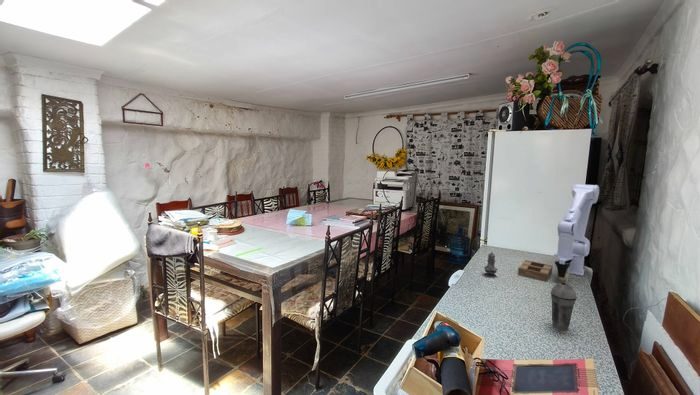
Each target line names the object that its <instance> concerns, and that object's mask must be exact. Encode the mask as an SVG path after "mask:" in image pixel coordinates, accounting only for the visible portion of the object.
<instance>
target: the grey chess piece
mask: <svg viewBox="0 0 700 395" xmlns="http://www.w3.org/2000/svg"><path fill="white" fill-rule="evenodd" d="M495 257H496V254H494V253H493V251H491V252H490V253H488V257H487V260H486V261H487V265H486V266H484V267H483V269H484V272H485V273H484V276H485V277H488V278H497V275H496V273H497V272H498V268H497V267H496V266H495V262H496V260H495V259H496V258H495Z"/></svg>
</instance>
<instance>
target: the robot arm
mask: <svg viewBox="0 0 700 395" xmlns="http://www.w3.org/2000/svg"><path fill="white" fill-rule="evenodd" d="M571 195H572V197H573V200H572V203H571V207H569V208H568V209H567V210H566V212H565V213H564V216H563V218H562V220H561V221H559V222H558V225H557V236H558V242H557V252H556V253H554V254H553V257H556V258H557V259H558V260H559V261H557V260H555V262H554V264H555V266H556V269H557V273H558V276H559V277H562V278H564V277H565V274H566V271H567V269H568V267H569V269H568V271H570V275H577V276H582V277H583V276H584V273H585V269H584V265H585V264H584V262H585V257H587V256H588V255H589V254H590V249H591V242H590V240H589V239H588V238H587V237H585V235H586V231H587V226H588V222H589V217H590V212H591V208H592V206H593V204H597V202H598V199H599V196H600V186H599V185H598V184H582V183H581V184H579V183H574V184H573V185H572V187H571ZM565 262H566V263H568V264H566V263H565Z"/></svg>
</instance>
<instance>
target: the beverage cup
mask: <svg viewBox="0 0 700 395" xmlns="http://www.w3.org/2000/svg"><path fill="white" fill-rule="evenodd" d="M570 275H571V273H570V271H568V275H567V279H566V281H565V282H559V283H555V284H554V285H552V288H551V291H550V298H551V324H552V327H553V328H554V329H556V330H560V331H562V332H563V331H564V332H565V331H568V330H569V326H570V323H571V319H572V314H573V310H574V307H575V306H574V305H575V303H576V301H577V292H576V290H575V288H574V287H573V286H572V285H570V284H569V283H568V282H569V280H570Z"/></svg>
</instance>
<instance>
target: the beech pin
mask: <svg viewBox="0 0 700 395" xmlns="http://www.w3.org/2000/svg"><path fill="white" fill-rule="evenodd" d="M565 263H566V262H565ZM566 264H568V263H566ZM568 269H569V267H568ZM568 269H567V271H566V274H565V277H564V278H562V277H559V276H558V272H557V275H556V280H557V281H561V282H566V279H567V275H568Z"/></svg>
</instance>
